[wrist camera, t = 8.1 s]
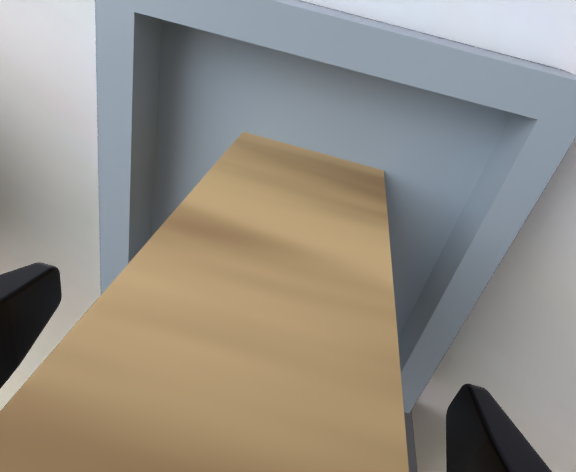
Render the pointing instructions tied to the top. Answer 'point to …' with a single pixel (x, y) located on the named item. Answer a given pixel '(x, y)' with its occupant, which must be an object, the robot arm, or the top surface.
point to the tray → (332, 135)
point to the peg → (234, 335)
